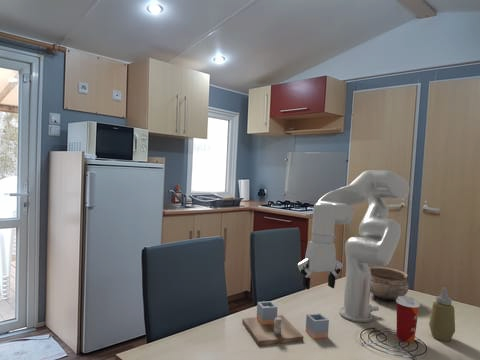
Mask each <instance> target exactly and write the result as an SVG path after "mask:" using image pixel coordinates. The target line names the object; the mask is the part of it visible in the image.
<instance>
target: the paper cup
mask: <svg viewBox="0 0 480 360" xmlns="http://www.w3.org/2000/svg"><path fill="white" fill-rule="evenodd" d="M395 302H396V338H397V339H398V340H399V341H401V342H404V343H411V344H412V343H414V342H415V339H416V330H417V326H418V325H417V324H418V319H419V312H420V311H419V309H420V307H421V304H420V301H419V300H418V299H417V298H414V297H412V296H409V295H408V296H407V295H404V296H398V298H397V299H395Z"/></svg>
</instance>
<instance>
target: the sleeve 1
mask: <svg viewBox="0 0 480 360" xmlns="http://www.w3.org/2000/svg"><path fill="white" fill-rule="evenodd" d="M256 305H257V306H256V317H257V319H258V320H259V322H260V323H261V324H262V325H265V324H274V321H275V318H277V316H278V306H277V305H276V304H275V303H274V302H273V301H272V300H270V301H269V300H268V301H257V304H256ZM264 306H269V307H264Z"/></svg>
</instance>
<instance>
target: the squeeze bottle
mask: <svg viewBox="0 0 480 360" xmlns="http://www.w3.org/2000/svg"><path fill="white" fill-rule="evenodd" d="M455 317H456V316H455V307H454V306H453V303H452V298H451V297H449V293H448V288H447V287H442V289H441V293H440V294H439V295H437V296H436V300H435V301H434V302H433V303H432V308H431V312H430V319H429V322H428V326H429V329H430V332H431V333H430V334H431V336H432V337H433V338H435V339H436V340H439V341H442V342H450V341H451V340H452V338H453V336H454V334H455V332H456V322H455V321H456V318H455Z"/></svg>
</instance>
